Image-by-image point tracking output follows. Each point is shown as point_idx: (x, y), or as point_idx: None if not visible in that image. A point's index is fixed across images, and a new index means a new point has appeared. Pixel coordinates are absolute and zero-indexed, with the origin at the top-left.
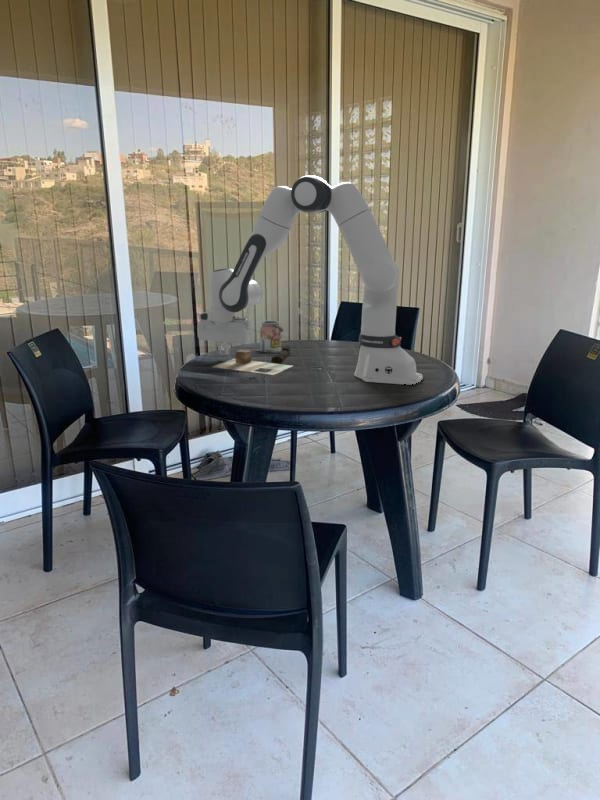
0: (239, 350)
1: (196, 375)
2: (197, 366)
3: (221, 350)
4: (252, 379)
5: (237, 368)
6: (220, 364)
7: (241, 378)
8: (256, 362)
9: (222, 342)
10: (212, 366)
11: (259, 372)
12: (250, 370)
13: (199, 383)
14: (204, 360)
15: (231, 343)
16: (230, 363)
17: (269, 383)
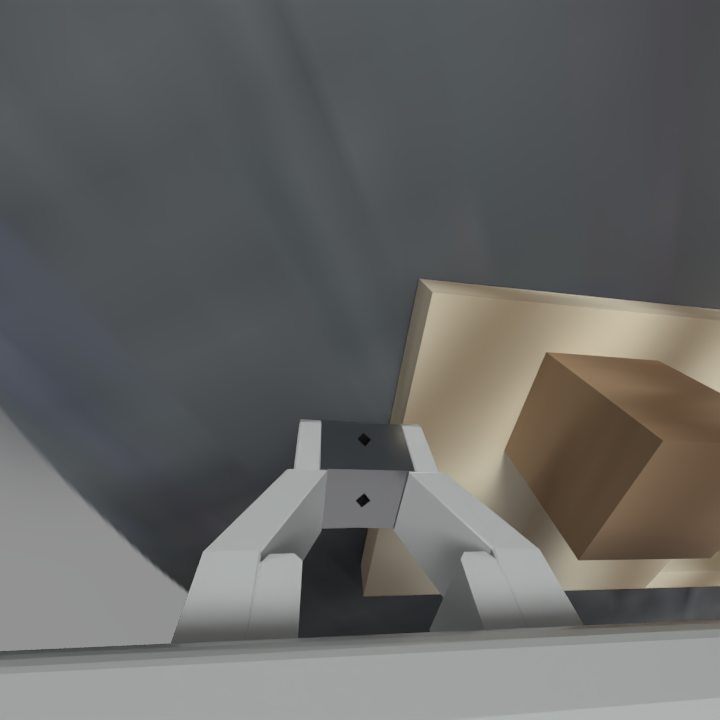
0: (633, 500)
1: (330, 633)
2: (185, 513)
3: (331, 514)
4: (630, 589)
5: (553, 566)
6: (397, 535)
7: (573, 596)
8: (714, 370)
9: (299, 599)
10: (367, 588)
11: (696, 580)
12: (642, 570)
13: None
14: (23, 298)
15: (554, 587)
16: (465, 485)
17: (707, 602)
